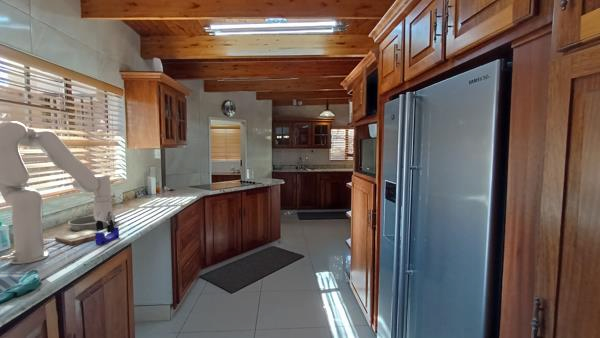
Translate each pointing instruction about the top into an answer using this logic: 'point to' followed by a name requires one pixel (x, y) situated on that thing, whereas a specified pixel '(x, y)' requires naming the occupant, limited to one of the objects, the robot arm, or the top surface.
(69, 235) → the mounting board
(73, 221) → the cake pan
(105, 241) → the blue curved stepped block
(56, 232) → the top surface
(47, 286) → the top surface
